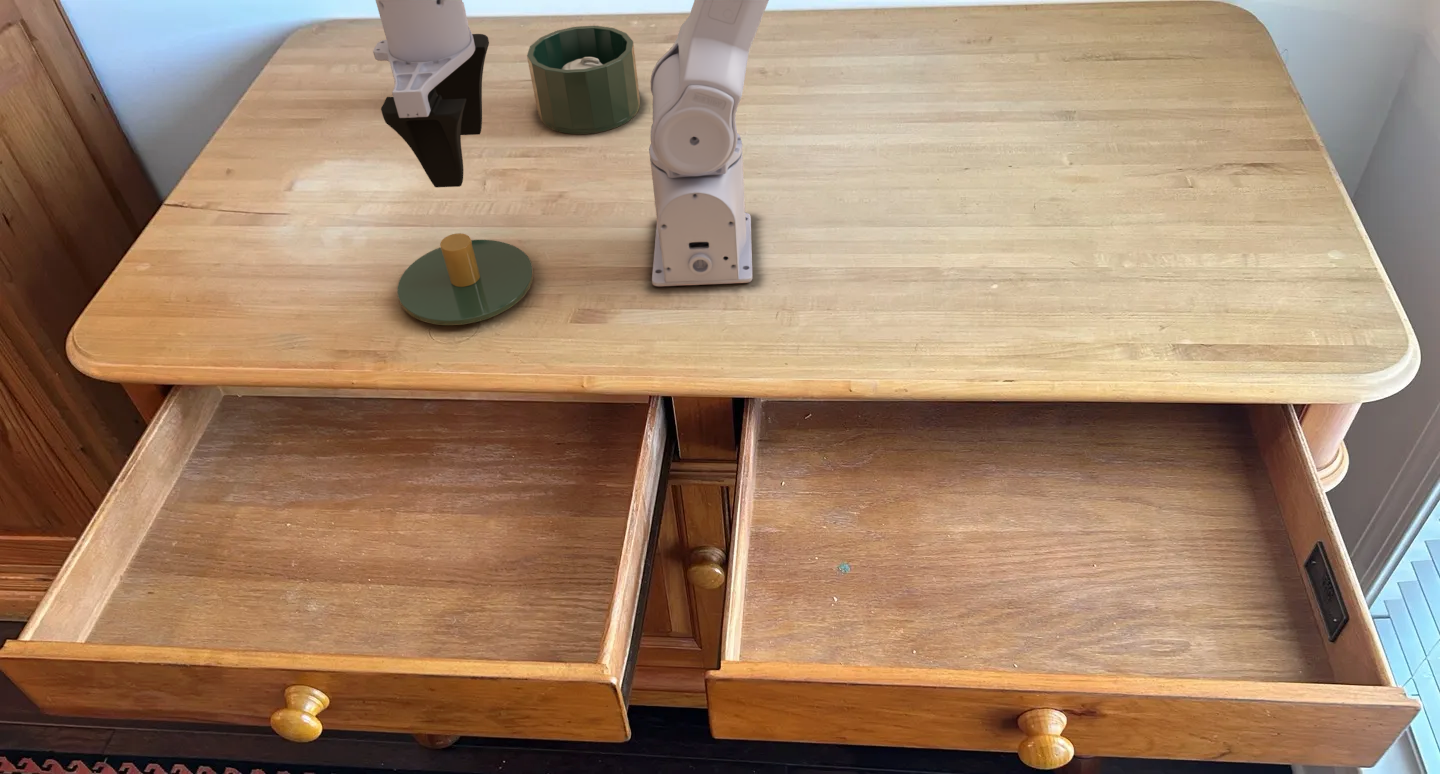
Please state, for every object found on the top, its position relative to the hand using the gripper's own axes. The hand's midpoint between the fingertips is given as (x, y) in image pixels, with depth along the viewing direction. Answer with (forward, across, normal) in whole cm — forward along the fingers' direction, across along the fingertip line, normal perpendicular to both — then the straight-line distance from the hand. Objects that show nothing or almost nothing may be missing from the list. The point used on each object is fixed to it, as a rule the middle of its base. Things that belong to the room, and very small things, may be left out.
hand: (458, 157), depth 81 cm
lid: (+9, +4, -1) cm, 10 cm away
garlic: (+10, -26, +6) cm, 28 cm away
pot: (+10, -26, +6) cm, 28 cm away
